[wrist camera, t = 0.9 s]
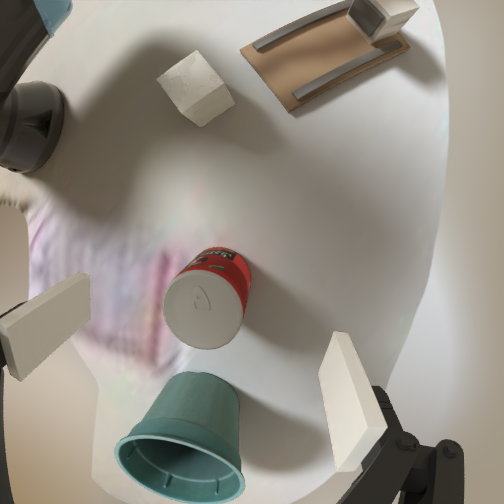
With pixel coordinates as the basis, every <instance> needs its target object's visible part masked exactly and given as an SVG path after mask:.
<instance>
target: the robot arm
mask: <svg viewBox="0 0 504 504" xmlns="http://www.w3.org/2000/svg"><path fill="white" fill-rule="evenodd" d="M72 7H73V3H72V0H0V166H1V167H3V168H6V169H8V170H10V171H12V172H16V173H28V172H32V171H35V170H37V169H38V168H39V167H41V166H42V165H43V164H44V163H45V162H46V161H47V159H48V158H49V156H50V155H51V153H52V152H53V150H54V148H55V146H56V143H57V141H58V138H59V135H60V132H61V128H62V123H63V113H64V109H63V101H62V97H61V94H60V92H59V91H58V89H57V88H56V87H55V86H53V85H52V84H49V83H46V82H43V81H33V82H29V83H21V84H16V83H17V82H18V80H19V79H20V77H21V76H22V74H23V73H24V71H25V70H26V69H27V67H28V66H29V64H30V63H31V62H32V60H33V59H34V58H35V56H36V55H37V54H38V53H39V51H40V50H41V49H42V48H43V46H44V45H45V44H46V43H47V42H48V40H49V39H50V38H52V37H53V36H54V33H55V32H56V30H57V29H58V28H59V27H60V25H61V24H62V23H63V22H64V21H65V19H66V18H67V17H68V16H69V15H70V13H71V11H72ZM90 319H91V310H90V275H88V274H85V273H82V272H78V273H76V274H74V275H72V276H70V277H69V278H67V279H65V280H63V281H62V282H60V283H58V284H56V285H55V286H53V287H51V288H50V289H48V290H46V291H44V292H43V293H41V294H39V295H38V296H36V297H34V298H33V299H31V300H29V301H27V302H23V303H20V304H18V305H17V306H15V307H14V308H13V309H10V310H9V311H8V312H5V313H4V314H2V315H1V316H0V504H14V501H13V497H12V493H11V487H10V482H9V476H8V469H7V461H6V453H5V442H4V426H3V425H4V424H3V388H4V371H3V367H4V366H5V365H6V364H7V366H8V370H9V373H10V375H11V376H13V377H14V378H16V379H18V380H19V381H22V380H24V379H25V378H26V377H27V375H29V374H30V373H31V372H32V371H33V370H34V369H35V368H36V367H37V366H38V365H39V364H41V363H42V362H43V361H44V360H45V359H46V358H47V357H48V356H49V355H50V354H52V353H53V352H54V351H55V350H56V349H57V348H58V347H59V346H60V345H61V344H63V343H64V342H65V341H66V340H67V339H68V338H69V337H70V336H72V335H73V334H74V333H75V332H76V331H77V330H78V329H80V328H81V327H82V326H83V325H84V324H85V323H87V322H88V321H89V320H90ZM318 377H319V381H320V386H321V391H322V396H323V401H324V406H325V412H326V417H327V422H328V427H329V433H330V438H331V444H332V450H333V455H334V461H335V467H336V472H354V471H355V470H356V469H357V468H358V466H359V465H360V464H362V468H363V472H362V473H361V474H360V475H359V476H358V477H357V479H356V480H355V481H354V482H353V483H352V485H351V487H350V488H349V489H348V490H347V492H346V493H345V494H344V495H343V497H342V498H341V499H340V500H339V501H338V502H337V503H336V504H392V502H393V501H394V499H395V497H396V495H397V494H398V492H399V491H401V493H400V497H399V502H398V504H464V453H463V449H462V448H461V446H460V445H459V444H458V443H456V442H455V441H452V440H448V439H445V440H442V441H440V442H439V443H438V444H437V446H436V447H429V446H423V445H420V444H419V441H418V440H417V438H416V437H415V436H413V435H412V434H410V433H408V432H405V431H403V429H402V426H401V424H400V422H399V420H398V417H397V415H396V413H395V411H394V410H393V406H392V404H391V403H390V400H389V397H388V395H387V393H386V392H385V391H384V390H383V389H382V388H381V387H380V386H371V385H370V382H369V380H368V378H367V375H366V373H365V371H364V368H363V366H362V364H361V361H360V359H359V357H358V355H357V352H356V350H355V348H354V346H353V343H352V341H351V339H350V337H349V334H348V333H344V332H337V331H334V333H333V335H332V338H331V341H330V344H329V346H328V349H327V352H326V354H325V357H324V359H323V362H322V364H321V367H320V370H319V372H318Z"/></svg>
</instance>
